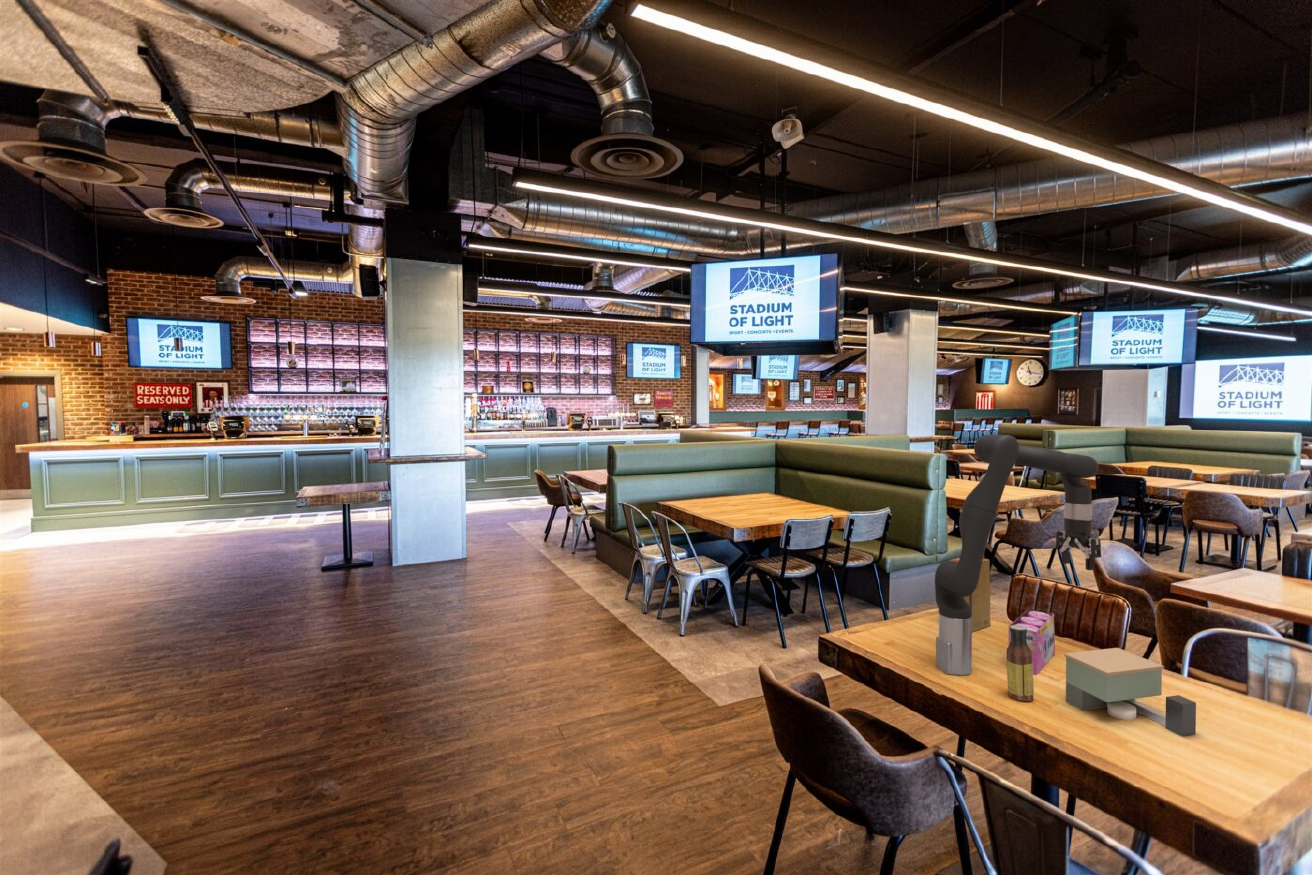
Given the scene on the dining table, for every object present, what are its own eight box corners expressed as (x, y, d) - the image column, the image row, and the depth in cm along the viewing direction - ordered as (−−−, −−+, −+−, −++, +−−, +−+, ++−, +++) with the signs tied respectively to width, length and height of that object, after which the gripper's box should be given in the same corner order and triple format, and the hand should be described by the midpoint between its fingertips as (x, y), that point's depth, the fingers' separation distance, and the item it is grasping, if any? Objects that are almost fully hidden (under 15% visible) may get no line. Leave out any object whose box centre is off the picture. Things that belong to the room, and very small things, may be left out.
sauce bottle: (1030, 693, 168) (1030, 624, 167) (1036, 703, 162) (1036, 632, 161) (1004, 690, 170) (1004, 622, 169) (1009, 700, 164) (1009, 629, 163)
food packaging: (967, 618, 230) (967, 554, 229) (991, 625, 222) (992, 559, 221) (947, 625, 222) (947, 559, 222) (971, 633, 214) (971, 564, 214)
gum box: (1029, 646, 202) (1029, 607, 201) (1056, 653, 196) (1056, 612, 196) (1007, 668, 185) (1007, 625, 185) (1036, 675, 179) (1037, 631, 179)
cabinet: (1106, 724, 151) (1107, 672, 150) (1063, 701, 163) (1064, 653, 163) (1163, 716, 154) (1164, 666, 154) (1117, 694, 167) (1117, 647, 166)
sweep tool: (1182, 736, 145) (1182, 704, 144) (1123, 707, 159) (1123, 677, 159) (1195, 734, 146) (1196, 702, 145) (1135, 705, 160) (1135, 676, 160)
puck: (1123, 722, 152) (1123, 712, 152) (1101, 710, 158) (1101, 701, 158) (1142, 719, 153) (1142, 710, 153) (1120, 708, 159) (1120, 699, 159)
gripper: (1049, 514, 198) (1049, 562, 199) (1088, 521, 184) (1087, 573, 185) (1068, 512, 200) (1068, 560, 200) (1108, 520, 186) (1107, 571, 186)
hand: (1077, 566), depth 192 cm, fingers open, 8 cm apart
